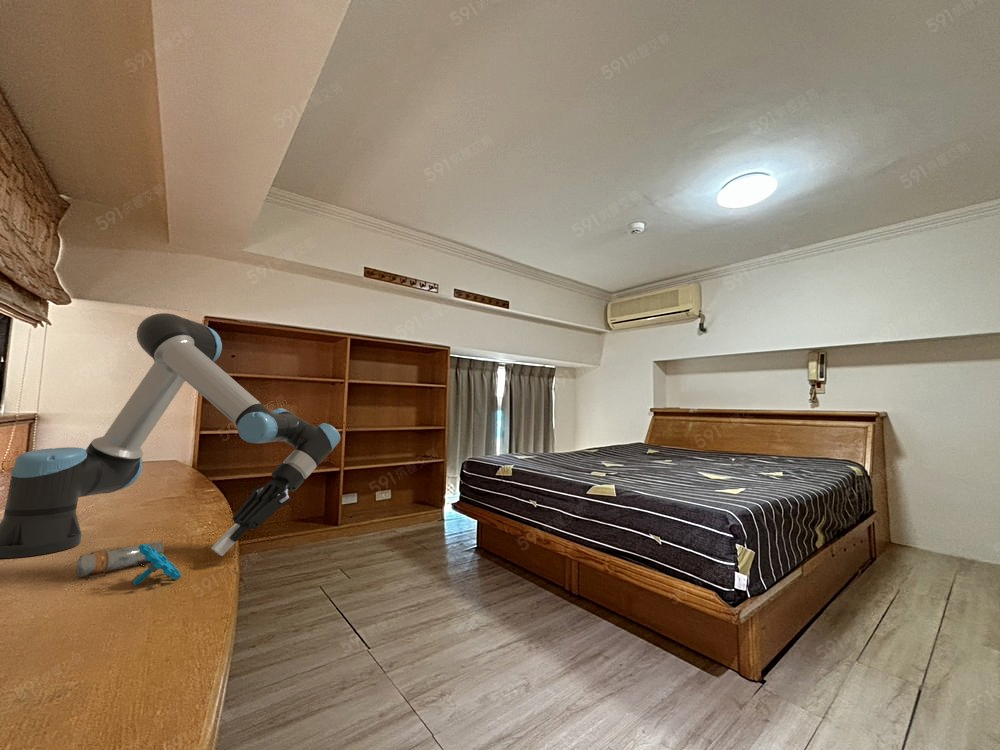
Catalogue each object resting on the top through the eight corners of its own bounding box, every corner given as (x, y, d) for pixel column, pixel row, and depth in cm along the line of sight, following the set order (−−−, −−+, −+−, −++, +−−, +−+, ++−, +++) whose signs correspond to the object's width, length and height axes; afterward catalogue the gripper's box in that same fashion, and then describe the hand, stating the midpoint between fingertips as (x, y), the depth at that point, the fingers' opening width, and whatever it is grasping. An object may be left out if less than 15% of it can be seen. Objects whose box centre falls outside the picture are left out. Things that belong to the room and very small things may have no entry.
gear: (183, 577, 79) (142, 544, 76) (152, 605, 75) (108, 571, 73) (186, 568, 87) (149, 537, 85) (158, 593, 84) (118, 562, 82)
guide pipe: (74, 575, 81) (78, 551, 82) (153, 558, 92) (156, 538, 93) (83, 581, 79) (87, 556, 79) (162, 563, 90) (166, 541, 91)
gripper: (317, 483, 106) (243, 567, 89) (286, 478, 112) (212, 555, 95) (301, 464, 102) (220, 548, 85) (270, 459, 108) (190, 537, 91)
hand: (216, 552), depth 90 cm, fingers closed
